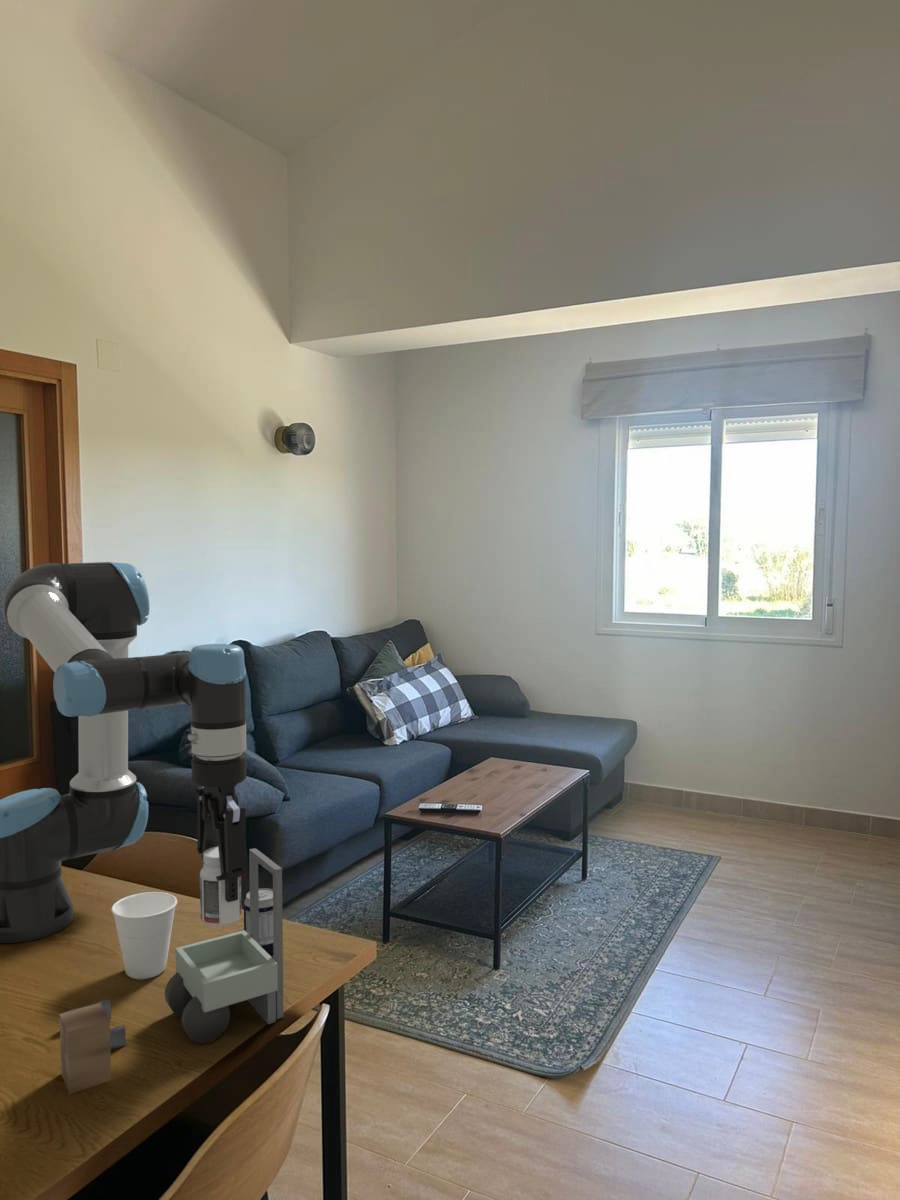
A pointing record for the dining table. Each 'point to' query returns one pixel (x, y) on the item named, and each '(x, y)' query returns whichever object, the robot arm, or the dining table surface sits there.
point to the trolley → (231, 969)
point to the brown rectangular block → (85, 1047)
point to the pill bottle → (212, 888)
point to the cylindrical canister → (262, 919)
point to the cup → (144, 932)
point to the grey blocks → (115, 1033)
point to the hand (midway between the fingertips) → (221, 913)
